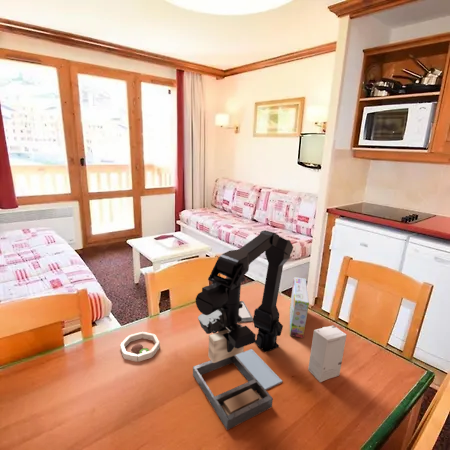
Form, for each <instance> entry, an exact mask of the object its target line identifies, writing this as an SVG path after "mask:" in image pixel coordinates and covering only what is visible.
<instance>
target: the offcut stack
mask: <svg viewBox="0 0 450 450" xmlns="http://www.w3.org/2000/svg"><path fill="white" fill-rule="evenodd" d="M261 399H262V398H261V396H260V395H259V394H258V393H257V392H256V391H255V390H254V391H253V390H252V389H249V390H247V391H245V392H243V393H241V394H239V395H236V396H234V397H232V398H230V399H228V400H226V401H224V405H223V406H221V407H222V409H223V410H224V412H225V413H226V415H227V416H228V415H230V414H232V413H234V412H236V411H238V410H240V409H242V408H244V407H246V406H249V405H251V404H253V403H255V402H257V401H259V400H261Z"/></svg>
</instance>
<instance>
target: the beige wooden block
mask: <svg viewBox="0 0 450 450" xmlns="http://www.w3.org/2000/svg"><path fill="white" fill-rule="evenodd" d="M228 331H229V330H228V329H227V330H224V331H221V332H216V333H211V334H208V354H207V356H208V359H210V360H211V361H212V362H213V363H215V362H218V361H221V360H223V359H226V358H229V357H231V356H234V355H237V354H240V353H242V352H244V349H245V348H244V347H245V346H244V347H241V348H235V347H234V348H233V350H232V351H231V352H228V351H227V340H226V338H225V337H224V336H223V334H226V333H228ZM210 360H209V361H210Z"/></svg>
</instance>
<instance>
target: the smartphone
mask: <svg viewBox="0 0 450 450" xmlns="http://www.w3.org/2000/svg"><path fill="white" fill-rule="evenodd" d="M240 303H241V304H243V306H242V308H240V309H239V316H240V317H241V318H242V320H241V321H240V322H237V324H241V323H252V322H253V317H254V316H252V314H251V312H250V311H249V308H248V306H247V305H246V303H245V301H244V300H240Z"/></svg>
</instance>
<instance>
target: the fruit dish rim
mask: <svg viewBox="0 0 450 450" xmlns="http://www.w3.org/2000/svg"><path fill="white" fill-rule="evenodd" d="M142 339H144V340H149V341H152V342H153V344H154V345H153V346H152V348H151V349H149V351H147V352H144V353H141V354H139V353H134V352H129V351H127V350H126V347H127V346H128V345H129V344H130V343H131V342H134V341H137V340H142ZM160 344H161V343H160V340H159V339H158V337H157V335H156V334H155V333H152V332H146V331H140V332H136V333H132V334H129V335H127V336H126V337H125V338H124V340H123V341H121V343H120V346H119V347H120V352H121V355H122V357H123V359H124V360H127V361H131V362H138V363H139V362H141V361H145V360H147V359H151V358H153V357H155V355H156V353H157V352H158V351H159V349H160V347H161V346H160Z"/></svg>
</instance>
